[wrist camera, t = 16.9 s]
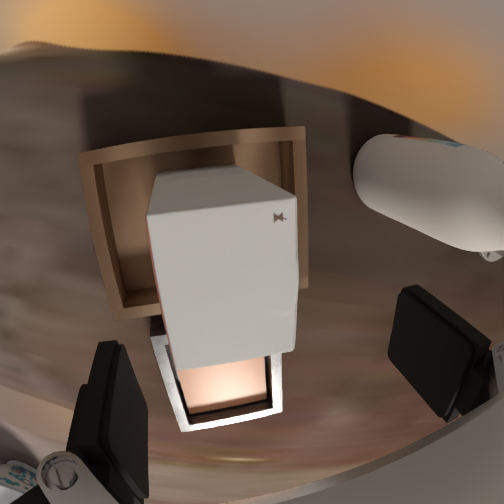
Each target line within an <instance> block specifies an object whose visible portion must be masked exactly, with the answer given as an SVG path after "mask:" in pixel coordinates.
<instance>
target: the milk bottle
mask: <svg viewBox="0 0 504 504" xmlns="http://www.w3.org/2000/svg"><path fill="white" fill-rule="evenodd" d="M353 182H354V185H355V189H356V191H357V193H358V195H359V197H360V199H361V200H362V201H363V203H364V204H365V205H367V206H368V207H370V208H371V209H373V210H375V211H377V212H379V213H382V214H384V215H386V216H388V217H390V218H392V219H395V220H397V221H399V222H401V223H403V224H405V225H407V226H410V227H412V228H414V229H416V230H418V231H420V232H422V233H425V234H427V235H429V236H431V237H433V238H435V239H437V240H439V241H442V242H444V243H446V244H449V245H451V246H453V247H456V248H459V249H463V250H467V251H475V252H486V251H497V250H504V162H503V161H501V160H500V159H499V158H497V157H495V156H494V155H492V154H491V153H488V152H487V151H484V150H482V149H479V148H476V147H472V146H468V145H464V144H459V143H454V142H448V141H442V140H436V139H429V138H421V137H413V136H404V135H394V134H381V135H377V136H375V137H373V138H371V139H370V140H368V141H367V142H366V143H365V144H364V145H363V146H362V147H361V149H360V150H359V152H358V153H357V156H356V158H355V162H354V166H353Z"/></svg>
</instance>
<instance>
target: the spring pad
mask: <svg viewBox="0 0 504 504" xmlns="http://www.w3.org/2000/svg"><path fill="white" fill-rule="evenodd" d="M177 373H178V376H179V380H180V383H181V387H182V390H183V393H184V397H185V400H186V403H187V407H188V410H189V413H190V414H193V413H199V412H204V411H210V410H216V409H221V408H226V407H231V406H236V405H241V404H245V403H250V402H254V401H259V400H263V399H267V395H266V379H265V362H264V357H259V358H253V359H248V360H243V361H237V362H232V363H226V364H220V365H214V366H207V367H201V368H194V369H187V370H180V371H177Z"/></svg>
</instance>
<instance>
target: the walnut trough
mask: <svg viewBox="0 0 504 504" xmlns="http://www.w3.org/2000/svg"><path fill="white" fill-rule="evenodd" d="M78 159H79V166H80V173H81V180H82V186H83V192H84V198H85V203H86V208H87V214H88V219H89V224H90V228H91V233H92V238H93V242H94V246H95V251H96V255H97V259H98V263H99V267H100V271H101V275H102V279H103V282H104V286H105V290H106V293H107V297H108V300H109V303H110V307H111V310H112V313H113V317H114V320H115V321H118V320H125V319H132V318H139V317H146V316H152V315H159V314H162V313H161V308H160V303H159V298H158V293H157V288H156V283H155V278H154V273H153V268H152V262H151V256H150V250H149V243H148V237H147V230H146V223H145V216H146V212H147V208H148V205H149V200H150V196H151V192H152V188H153V185H154V181H155V176H156V173H157V172H164V171H172V170H180V169H190V168H199V167H209V166H220V165H232V164H236V165H238V166H240V167H242V168H244V169H246V170H248V171H250V172H252V173H253V174H255V175H257V176H259V177H261V178H263V179H265V180H267V181H268V182H270V183H272V184H274V185H276V186H278V187H280V188H282V189H283V190H285V191H287V192H289V193H291V194H293V195H295V196H296V198H297V240H298V263H299V286H298V290H299V289H304V288H308V198H307V164H306V140H305V126H291V127H266V128H250V129H236V130H224V131H214V132H204V133H195V134H187V135H179V136H171V137H164V138H157V139H150V140H144V141H138V142H132V143H126V144H121V145H115V146H110V147H105V148H100V149H95V150H90V151H86V152H82V153H78Z"/></svg>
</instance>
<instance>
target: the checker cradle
mask: <svg viewBox="0 0 504 504" xmlns="http://www.w3.org/2000/svg"><path fill="white" fill-rule="evenodd" d="M150 338H151V342H152V345H153V348H154V352H155V355H156V358H157V362H158V365H159V368H160V371H161V374H162V377H163V381H164V384H165V387H166V390H167V393H168V396H169V398H170V401H171V404H172V407H173V410H174V413H175V415H176V418H177V421H178V424H179V426H180V429H181V431H182V432H186V431H192V430H198V429H204V428H210V427H216V426H221V425H226V424H231V423H236V422H241V421H245V420H250V419H254V418H259V417H263V416H267V415H271V414H275V413H279V412H282V363H281V353H279V354H274V355H269V356H264V362H265V379H266V395H267V399H263V400H259V401H254V402H250V403H245V404H241V405H236V406H231V407H226V408H221V409H216V410H210V411H204V412H199V413H193V414H190V413H189V410H188V407H187V403H186V400H185V397H184V393H183V390H182V387H181V383H180V380H179V376H178V373H177V370H175V367H174V363H173V360H172V356H171V352H170V348H169V343H168V339H167V335H166V330H165V326H164V322H163V318H162V314H159V315H152V316H151V326H150Z"/></svg>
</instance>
